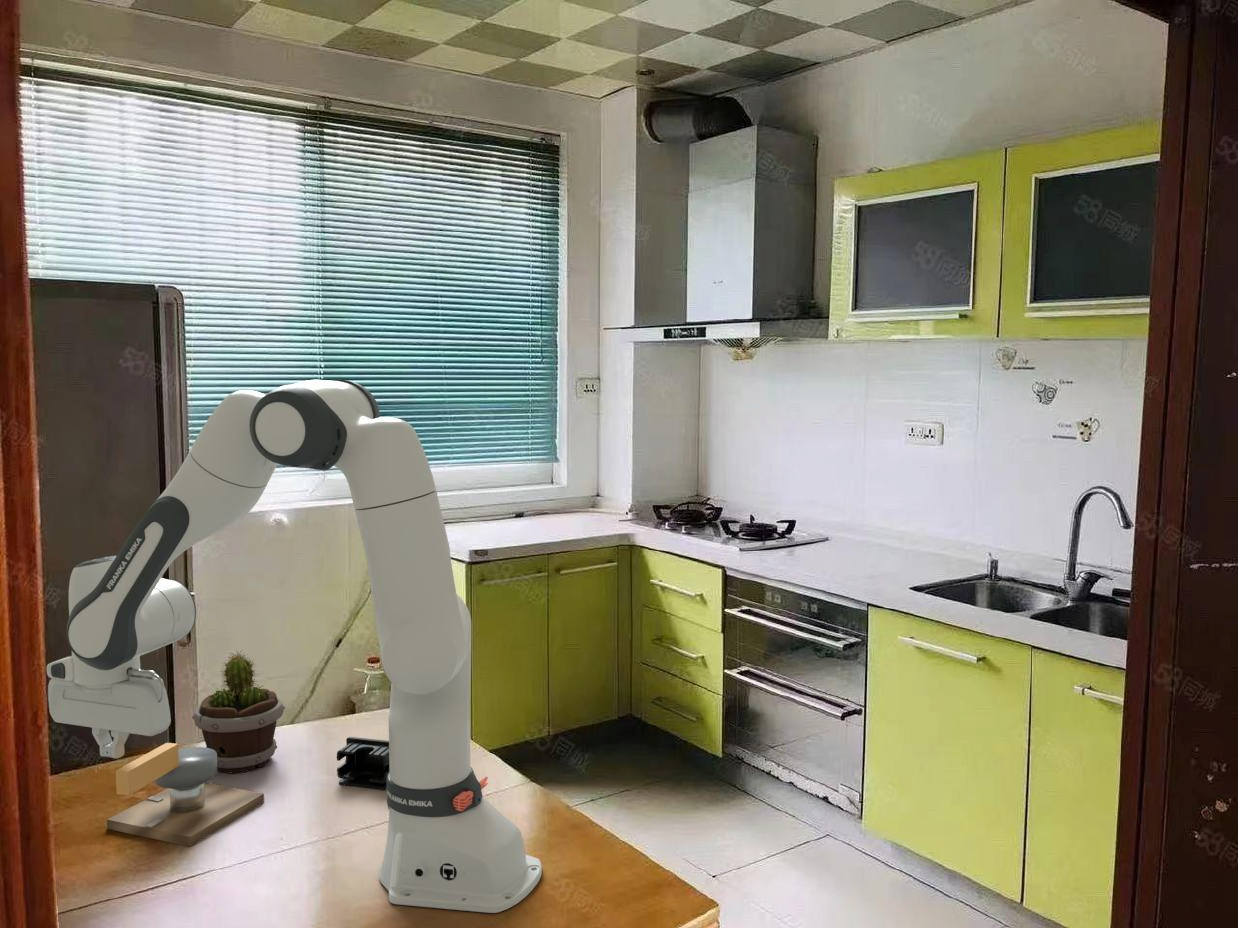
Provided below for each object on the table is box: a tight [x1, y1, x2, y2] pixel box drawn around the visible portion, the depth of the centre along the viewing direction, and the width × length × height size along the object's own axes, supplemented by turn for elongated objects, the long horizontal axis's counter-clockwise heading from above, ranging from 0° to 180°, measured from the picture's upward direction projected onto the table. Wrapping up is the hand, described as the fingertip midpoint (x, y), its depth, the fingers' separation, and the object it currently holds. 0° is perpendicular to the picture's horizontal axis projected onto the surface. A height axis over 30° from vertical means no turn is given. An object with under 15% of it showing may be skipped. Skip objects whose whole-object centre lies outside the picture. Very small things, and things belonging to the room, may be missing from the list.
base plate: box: [106, 782, 265, 847], centre depth 157 cm, size 16×16×2 cm
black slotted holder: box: [336, 736, 390, 791], centre depth 170 cm, size 10×7×7 cm
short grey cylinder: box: [169, 783, 205, 813], centre depth 156 cm, size 5×5×4 cm
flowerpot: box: [191, 649, 286, 774], centre depth 177 cm, size 14×15×20 cm
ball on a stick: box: [115, 742, 218, 797], centre depth 151 cm, size 18×9×6 cm, turn 167°
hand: (112, 756), depth 148 cm, fingers closed
